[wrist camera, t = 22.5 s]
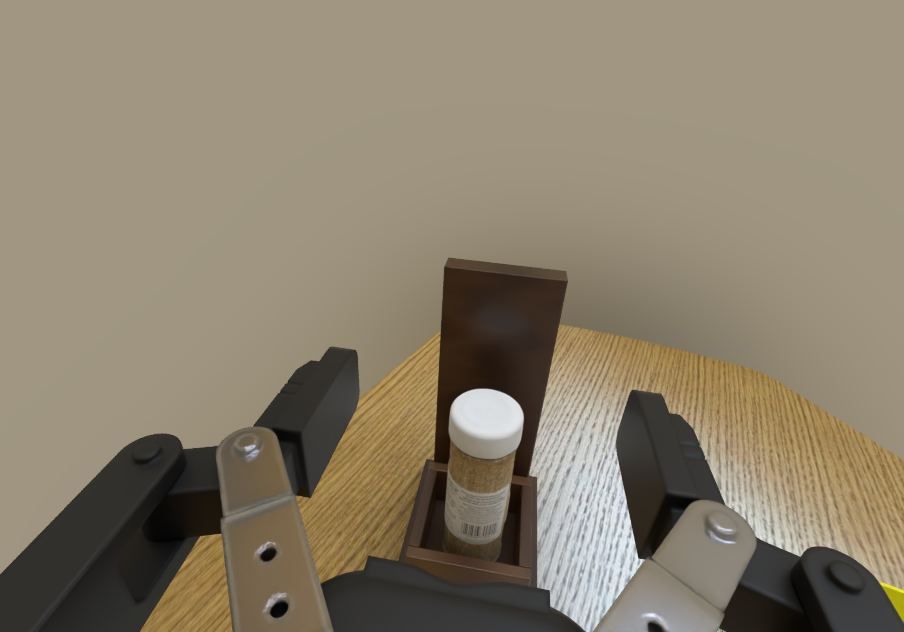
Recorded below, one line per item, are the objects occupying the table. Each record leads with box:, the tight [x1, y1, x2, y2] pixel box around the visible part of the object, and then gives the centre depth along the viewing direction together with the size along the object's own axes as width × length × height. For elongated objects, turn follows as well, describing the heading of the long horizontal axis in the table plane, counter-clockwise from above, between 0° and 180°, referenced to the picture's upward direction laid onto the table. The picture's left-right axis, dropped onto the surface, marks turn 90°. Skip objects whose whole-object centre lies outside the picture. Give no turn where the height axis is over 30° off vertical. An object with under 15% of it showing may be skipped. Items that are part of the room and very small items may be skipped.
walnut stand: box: [399, 258, 568, 588], centre depth 31 cm, size 10×12×22 cm
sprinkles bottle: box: [442, 389, 524, 562], centre depth 31 cm, size 5×5×14 cm
